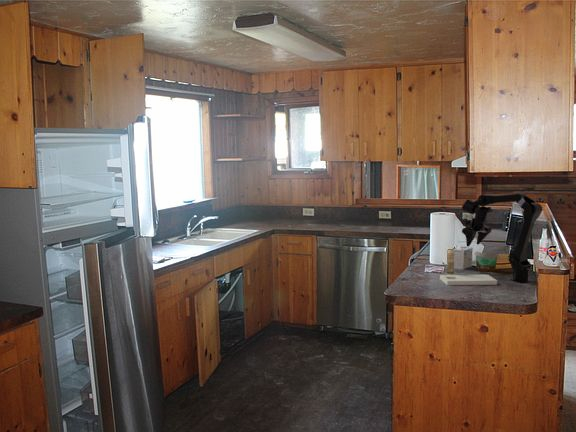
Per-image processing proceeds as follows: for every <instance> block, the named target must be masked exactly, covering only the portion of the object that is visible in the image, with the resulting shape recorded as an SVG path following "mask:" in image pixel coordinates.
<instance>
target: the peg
mask: <svg viewBox="0 0 576 432" xmlns="http://www.w3.org/2000/svg"><path fill="white" fill-rule="evenodd" d="M454 252H455V250H452V249H448V250H447V265H446V275H454V273H455V268H454Z"/></svg>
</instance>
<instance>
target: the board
mask: <svg viewBox="0 0 576 432" xmlns="http://www.w3.org/2000/svg"><path fill="white" fill-rule="evenodd" d="M439 280H440V281H442V283H444V284H445V285H447V286H480V285H481V286H483V285H487V286H489V285H492V286H493V285H498V280H497V279H495V278H494V277H492V276H491V275H489V274H453V275H447V274H440V275H439Z"/></svg>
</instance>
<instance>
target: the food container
mask: <svg viewBox="0 0 576 432" xmlns="http://www.w3.org/2000/svg"><path fill="white" fill-rule="evenodd" d="M473 255H475V259H476V260H475V262H476V263H475V264H476V270H477V271H480V272H485V273H486V272H487V273H488V272H490V273H491V272H495V271H496V267H497V261H498V257H499V256H500V254H499V252H494V253H493V252H487V251H486V252H479V251H474V254H473Z"/></svg>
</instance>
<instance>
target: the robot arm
mask: <svg viewBox="0 0 576 432" xmlns="http://www.w3.org/2000/svg"><path fill="white" fill-rule="evenodd" d="M477 197H478V198H477V199H476V200H475V201H474V200H471V199H469V198H467V199H466V201H465V202H464V203H463V204H462V207H461V209H462V211H463V212H465V213H467V214H470V215H474V217H472V218H471V219H467V218H463V219H462V220H461V225H462V226H463V228H462V230H461V233H462V234H463V235H464V236H465V240H466V241H465V242H466V247H470V246H471V244H472V242H473V240H474V239H475V238H476V235H477V238H476V245H480V244H481V243H482V242H483V240H484V239H486V237H488V236H489V235H490V234H491V233H492V227H490V226H488V225H487V223H488V220H487V217H488V214H489V213H493V211H494V210H493V209H492V207H491V206H492V205H496V204H498V203H500V204H501V203H510V202H511V203H512V202H514V203H515V202H517V204H518V205H519V207H520V209H522V210H523V212H522V213H523V214H522V215H523V223H522V226H521V228H520V229H521V230H520V233H519V237H518V239H517V242H516V245H515V248H512V249H510V250H509V255H508V256H507V258H508V262H509V264H510V267H511V270H513V272H512V278H511V279H510V281H514V282H516V283H520V284H521V283H522V284H525V283H530V282H531V280H530V279H529V269H530V268H531V267H532V264H531V262H530V261H529V260H528V252H527V247H528V244H529V243H530V238H531V236H532V232H533V228H534V226H535V222H536V221H537V220H538V218H539V217H540V216H541V214H542V212H543V206H542V205H541V204H540V203H539V202H536V201H535V200H534V199H532V198H530V197H528V196H527V194H525V193H524V192H520V193H512V194H510V193H509V194H499V195H497V194H491V193H486V194H480V195H479V196H477ZM485 224H486V225H485Z"/></svg>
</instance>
